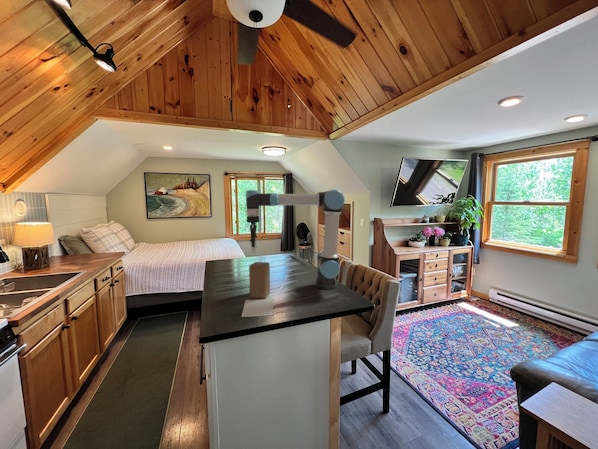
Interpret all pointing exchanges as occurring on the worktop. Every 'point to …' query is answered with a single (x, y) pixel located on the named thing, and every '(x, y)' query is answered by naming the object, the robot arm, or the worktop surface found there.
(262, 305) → the mat
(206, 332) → the worktop surface
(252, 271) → the wooden block
